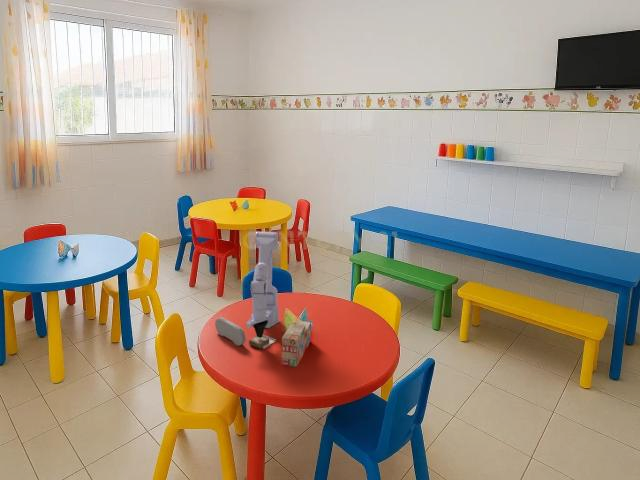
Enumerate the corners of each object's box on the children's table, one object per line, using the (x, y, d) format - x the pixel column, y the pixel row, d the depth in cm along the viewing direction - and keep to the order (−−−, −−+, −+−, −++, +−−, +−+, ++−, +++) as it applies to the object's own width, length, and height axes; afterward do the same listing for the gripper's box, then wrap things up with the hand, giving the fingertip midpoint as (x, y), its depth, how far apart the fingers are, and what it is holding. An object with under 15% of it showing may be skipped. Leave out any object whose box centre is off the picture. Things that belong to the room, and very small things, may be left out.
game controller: (246, 346, 195) (246, 329, 193) (242, 348, 194) (241, 330, 191) (219, 330, 208) (219, 314, 206) (215, 332, 206) (214, 315, 204)
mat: (261, 335, 205) (261, 334, 204) (276, 341, 200) (276, 339, 200) (249, 343, 198) (249, 341, 198) (264, 348, 194) (264, 347, 194)
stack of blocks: (296, 339, 203) (297, 313, 199) (310, 341, 201) (311, 315, 198) (281, 364, 183) (281, 336, 179) (296, 367, 181) (297, 339, 178)
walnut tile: (249, 344, 196) (258, 338, 201) (260, 348, 193) (269, 342, 198) (249, 340, 196) (258, 334, 200) (260, 344, 192) (269, 338, 197)
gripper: (262, 299, 200) (263, 327, 204) (240, 310, 189) (241, 340, 193) (275, 303, 197) (275, 331, 201) (253, 315, 185) (254, 345, 189)
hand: (259, 336), depth 196 cm, fingers closed
